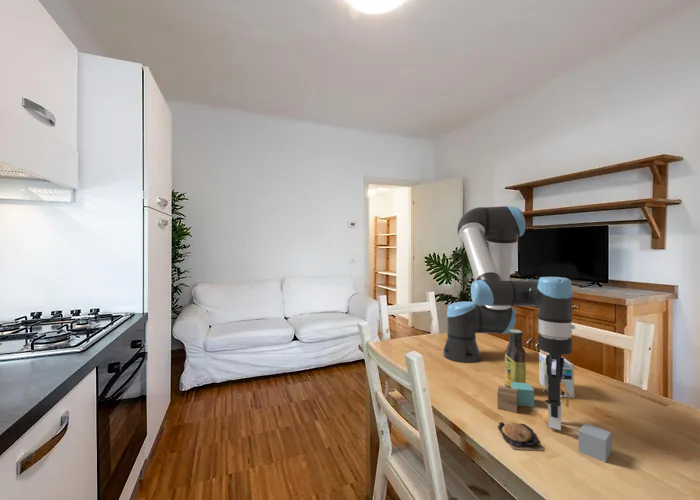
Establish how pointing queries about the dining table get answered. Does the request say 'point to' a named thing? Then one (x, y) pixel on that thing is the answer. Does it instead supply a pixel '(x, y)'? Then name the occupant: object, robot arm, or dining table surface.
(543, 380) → the light bulb box
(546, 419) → the figurine
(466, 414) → the dining table surface
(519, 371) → the sauce bottle
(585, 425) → the slate grey cube
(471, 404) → the dining table surface
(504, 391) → the walnut cube
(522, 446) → the bread roll
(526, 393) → the teal painted cube
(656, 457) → the dining table surface
